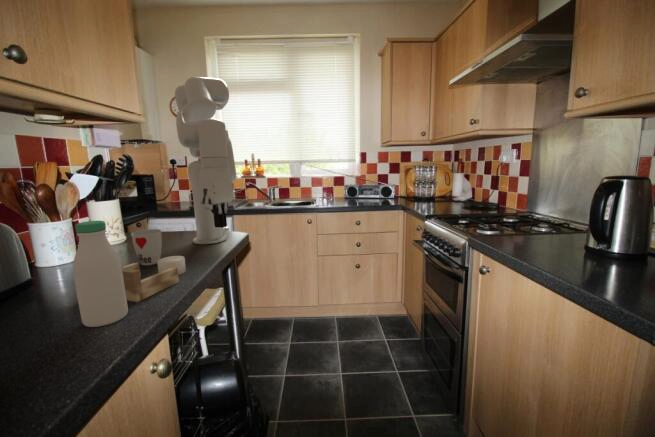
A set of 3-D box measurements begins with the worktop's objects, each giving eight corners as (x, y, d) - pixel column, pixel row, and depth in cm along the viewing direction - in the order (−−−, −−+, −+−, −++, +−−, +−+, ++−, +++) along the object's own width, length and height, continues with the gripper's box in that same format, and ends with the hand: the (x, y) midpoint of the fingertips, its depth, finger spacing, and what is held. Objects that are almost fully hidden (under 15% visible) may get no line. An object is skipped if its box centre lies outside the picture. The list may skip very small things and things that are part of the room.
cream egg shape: (172, 267, 93) (171, 254, 93) (191, 269, 91) (189, 256, 90) (153, 275, 87) (151, 262, 86) (172, 278, 85) (170, 264, 84)
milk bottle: (132, 317, 63) (118, 221, 59) (85, 333, 58) (66, 228, 54) (123, 305, 69) (110, 217, 65) (79, 318, 63) (62, 222, 60)
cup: (130, 264, 97) (125, 233, 95) (154, 257, 104) (150, 228, 102) (146, 268, 93) (141, 236, 91) (170, 260, 100) (166, 230, 98)
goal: (136, 276, 87) (133, 252, 85) (179, 281, 82) (176, 256, 80) (91, 294, 75) (86, 266, 74) (137, 302, 70) (133, 272, 69)
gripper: (221, 164, 97) (226, 222, 100) (185, 164, 84) (192, 231, 86) (241, 163, 95) (246, 222, 98) (207, 163, 81) (214, 232, 84)
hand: (220, 226), depth 92 cm, fingers closed
